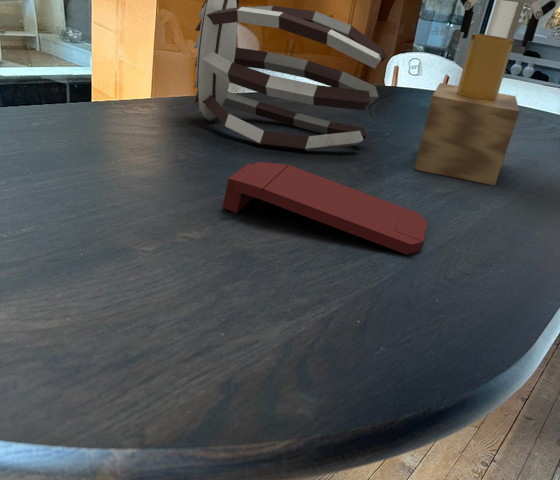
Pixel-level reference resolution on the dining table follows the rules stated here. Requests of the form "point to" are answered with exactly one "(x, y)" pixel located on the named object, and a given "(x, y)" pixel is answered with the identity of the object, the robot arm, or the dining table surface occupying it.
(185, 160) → the dining table surface
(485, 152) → the wooden block
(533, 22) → the robot arm
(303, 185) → the red hooked ramp
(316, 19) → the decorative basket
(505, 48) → the cup
